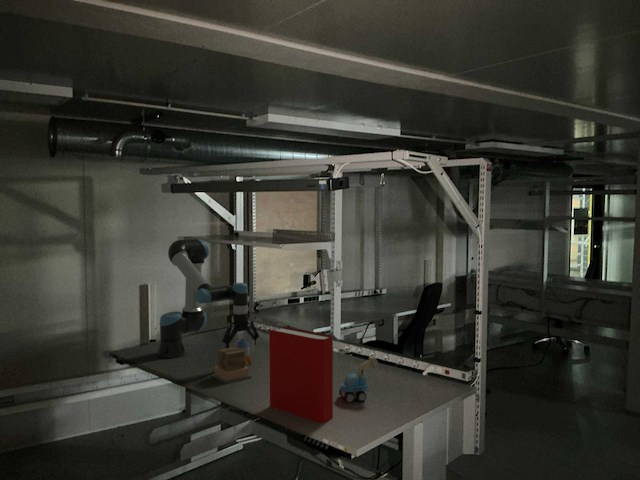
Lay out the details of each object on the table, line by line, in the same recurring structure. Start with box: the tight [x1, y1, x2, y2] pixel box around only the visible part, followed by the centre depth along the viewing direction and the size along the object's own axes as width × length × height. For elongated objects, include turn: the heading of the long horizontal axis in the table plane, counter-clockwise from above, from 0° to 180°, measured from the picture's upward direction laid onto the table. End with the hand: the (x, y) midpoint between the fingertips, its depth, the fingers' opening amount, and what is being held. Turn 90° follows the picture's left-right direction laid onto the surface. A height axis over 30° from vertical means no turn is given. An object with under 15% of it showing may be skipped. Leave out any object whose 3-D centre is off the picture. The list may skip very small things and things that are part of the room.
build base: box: [211, 365, 252, 385], centre depth 245 cm, size 14×14×5 cm
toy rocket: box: [236, 339, 253, 367], centre depth 261 cm, size 10×11×15 cm
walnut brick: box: [217, 346, 245, 371], centre depth 244 cm, size 10×9×8 cm
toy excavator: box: [338, 356, 379, 403], centre depth 216 cm, size 9×17×17 cm, turn 107°
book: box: [268, 325, 334, 424], centre depth 201 cm, size 27×8×32 cm, turn 51°
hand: (241, 353), depth 262 cm, fingers open, 13 cm apart
